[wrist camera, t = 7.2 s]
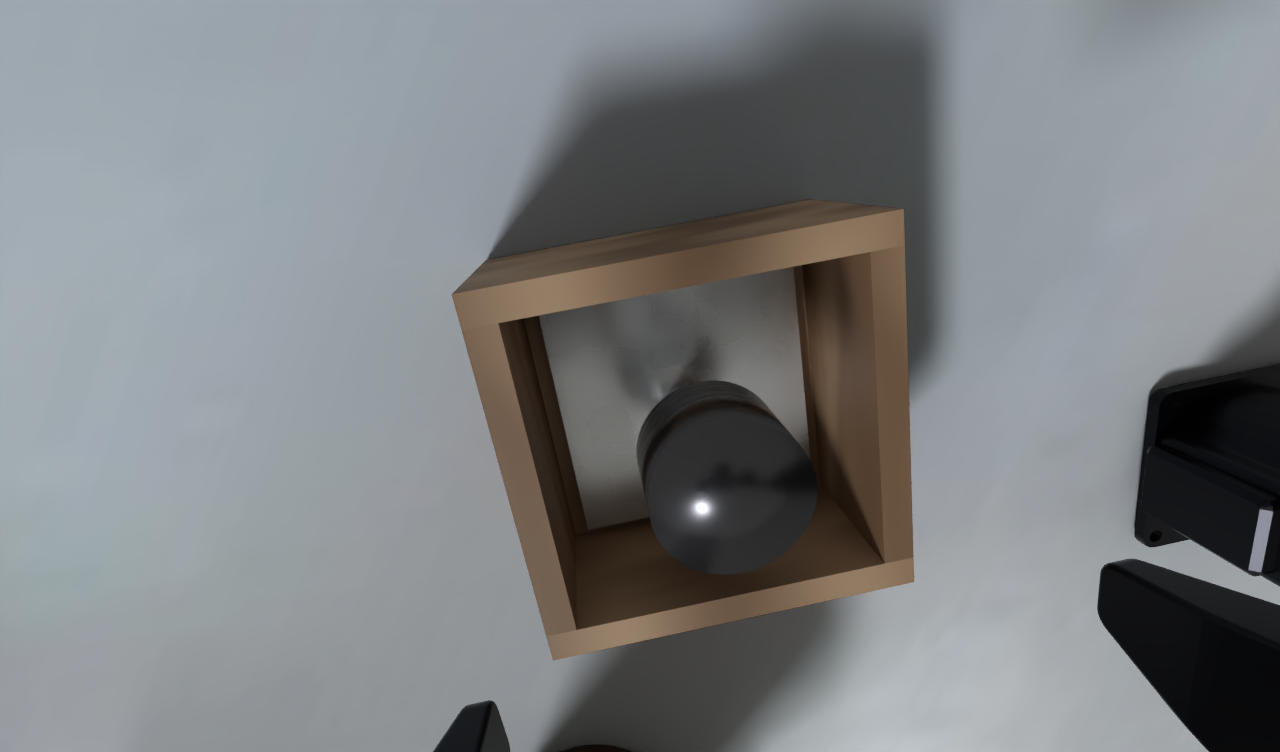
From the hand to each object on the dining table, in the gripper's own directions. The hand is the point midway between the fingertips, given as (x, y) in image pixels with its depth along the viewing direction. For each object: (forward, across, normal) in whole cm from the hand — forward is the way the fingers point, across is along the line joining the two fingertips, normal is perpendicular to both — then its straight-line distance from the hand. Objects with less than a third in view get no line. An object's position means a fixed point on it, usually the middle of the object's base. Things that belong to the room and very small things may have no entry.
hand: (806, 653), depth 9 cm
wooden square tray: (+12, 0, 0) cm, 12 cm away
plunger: (+11, 0, 0) cm, 11 cm away
